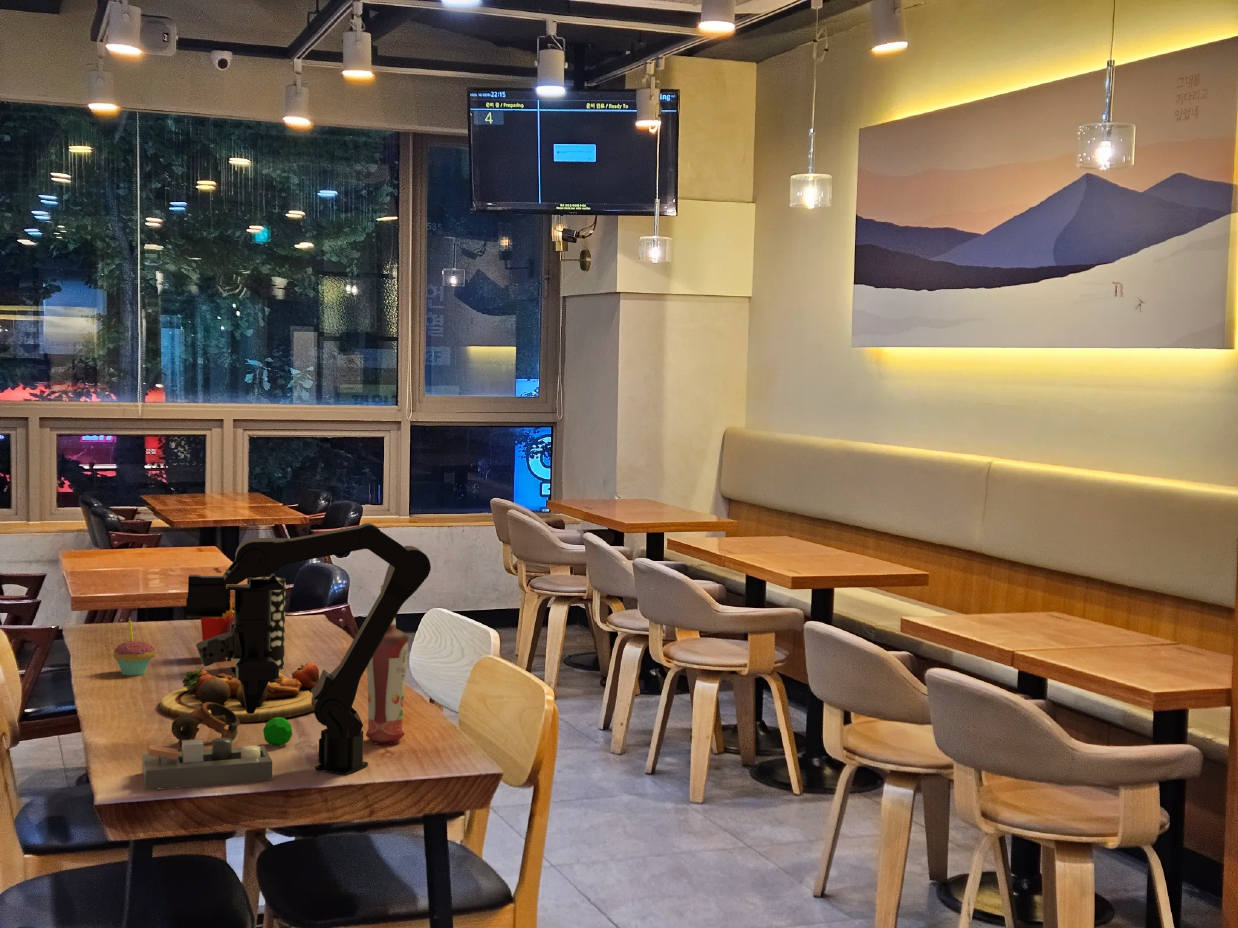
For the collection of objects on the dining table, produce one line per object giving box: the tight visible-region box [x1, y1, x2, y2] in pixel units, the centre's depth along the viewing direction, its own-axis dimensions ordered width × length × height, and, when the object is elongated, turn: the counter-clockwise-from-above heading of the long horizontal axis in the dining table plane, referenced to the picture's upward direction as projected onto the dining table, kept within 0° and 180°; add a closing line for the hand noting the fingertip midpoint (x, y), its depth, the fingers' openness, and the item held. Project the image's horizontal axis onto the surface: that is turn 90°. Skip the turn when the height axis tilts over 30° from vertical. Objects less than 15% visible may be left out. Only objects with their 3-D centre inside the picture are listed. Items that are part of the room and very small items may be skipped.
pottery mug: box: [171, 702, 240, 747], centre depth 229 cm, size 12×10×8 cm
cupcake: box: [113, 617, 157, 677], centre depth 287 cm, size 9×8×12 cm
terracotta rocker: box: [147, 744, 179, 760], centre depth 209 cm, size 4×3×1 cm, turn 112°
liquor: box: [365, 584, 409, 746], centre depth 235 cm, size 7×7×28 cm
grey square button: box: [181, 738, 204, 763], centre depth 210 cm, size 3×3×3 cm
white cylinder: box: [241, 745, 260, 759], centre depth 214 cm, size 3×3×3 cm
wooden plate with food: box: [159, 662, 320, 724], centre depth 261 cm, size 32×32×8 cm
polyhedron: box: [262, 717, 293, 747], centre depth 231 cm, size 5×5×5 cm
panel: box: [141, 745, 273, 791], centre depth 211 cm, size 19×10×4 cm, turn 113°
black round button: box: [211, 737, 233, 761], centre depth 212 cm, size 3×3×3 cm
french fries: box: [200, 600, 234, 662], centre depth 304 cm, size 9×8×15 cm
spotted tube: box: [246, 576, 287, 671], centre depth 296 cm, size 8×8×20 cm
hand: (250, 713), depth 214 cm, fingers closed
